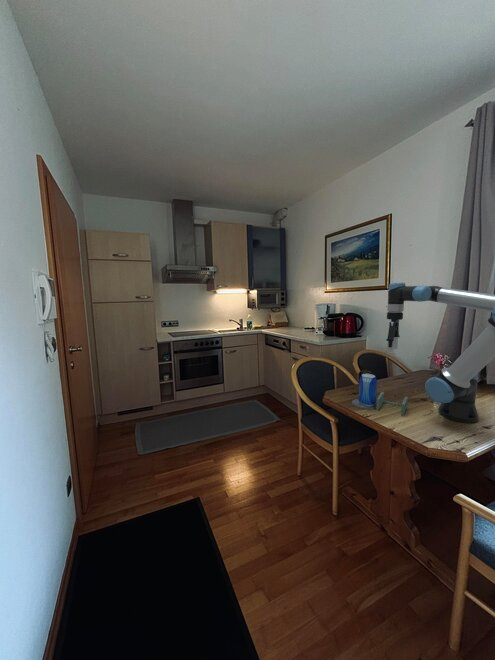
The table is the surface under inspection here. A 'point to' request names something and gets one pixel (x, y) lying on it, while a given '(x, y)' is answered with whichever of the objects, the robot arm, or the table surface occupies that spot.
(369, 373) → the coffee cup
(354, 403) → the flat grey disc
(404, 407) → the rack
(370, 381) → the beer can
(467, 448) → the table surface
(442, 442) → the table surface
